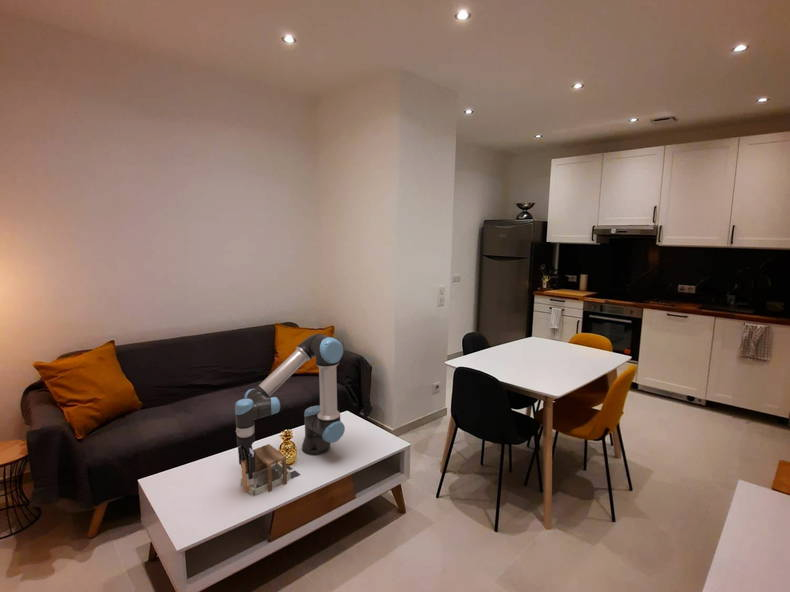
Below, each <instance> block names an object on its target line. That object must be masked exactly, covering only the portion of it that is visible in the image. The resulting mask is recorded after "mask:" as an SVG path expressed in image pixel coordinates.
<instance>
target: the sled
mask: <svg viewBox="0 0 790 592" xmlns="http://www.w3.org/2000/svg"><path fill="white" fill-rule="evenodd" d="M241 464H242V467H241V478H240V485H241V486H242V490H243V491H244V492H245V493H250V494H251V495H252V496H253V497H254V496H256V495H259V494H260V493H263V492H266V491H268V484H265V485H263V486H261V487H259V488H257V487H256V488H254V483H253V484H252V485H250V486H247V479H246V472H247V466H246V460H243V461H241ZM271 469H273V470H276V471H278V472H279V473H280V474H281V476H282V477H280V478H279V479H277V480H274V481H272V488H274V486H275V487H276V486H278V485H281V484H283V471H282V463H280V462H278V463H275V464H273V465H271ZM265 470H267V468H266V469H263V470H261V471H258V472H256V473H254V474H253V480H255V479H258V476H259V475H260V473H262V472H263V471H265ZM290 472H291V470H288V469H287V481H289V480H292V479H291V477H290Z"/></svg>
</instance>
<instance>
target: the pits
mask: <svg viewBox="0 0 790 592" xmlns="http://www.w3.org/2000/svg"><path fill="white" fill-rule="evenodd" d="M287 469H288V470H290V477H291V479H290V480H293V479H294V477H295V478H296V477H300V476H301V473H299V472H298V471H296V470H293V469H294V468H293V467H291V466H290V465H289V466H287Z"/></svg>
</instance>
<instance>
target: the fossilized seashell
mask: <svg viewBox="0 0 790 592" xmlns="http://www.w3.org/2000/svg"><path fill="white" fill-rule="evenodd" d="M281 476H282V474H281V473H280V472H278V471H277V470H273V469H272V481H274V480H277V479H279V478H281ZM265 484H268V476H267V470H265V471H263V472H262V473H260V475H259V476H258V477H257V479H256V484H255V485H256V489H257V488H259V487H261V486H263V485H265ZM274 487H276V486H274ZM274 487H273V488H274Z"/></svg>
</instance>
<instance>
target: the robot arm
mask: <svg viewBox="0 0 790 592" xmlns="http://www.w3.org/2000/svg"><path fill="white" fill-rule="evenodd" d="M343 354H344V347H343V345H342V343H341V341H339V340H338V339H336V338H334V337H331V336H328V335H325V334H322V333H314V334H311V335H309V336H308V337H306V338H305V339H304V340H302V341H301V342H300V343H299V344H298V345H297V346H296V347H295V350H294V352H292V354H290V355H289V356H288V357H287V358H286V359H284V361H283V362H281V364H280V365H278V367H277V368H275V370H273V371H272V372H271V374H269V375H268V376H267V377H266V378H265V379H264V380H263V381H262V382H260V384H259V385H258V386H256V387H255V388H251V389H248V390H247V391H246V392H245V394H244V398H242V399H238V400H237V401H236V402H235V407H234V409H235V410H234V414H235V427H236V428H235V429H236V430H235V433H236V446H237V450H238V463H239V464H238V465H239V466H240V467H241V468H242V464H241V461H243V460H246V466H247V472H246V479H247V486H250V485H252V484H253V485H254V479H253V472H255V455H256V452H253V451H252V450H253V444H254V442H256V441H255V440H256V439H255V437H256V436H255V435H256V434H255V420H258V419H261V418H264V417H268V416H273V415H275V414H278V413H279V412H280V410H281V401H280V400H279V399H278V397H277V396H272V395H273V393H275V392H276V391H277V390H278V389H279V388H280V387H281V386H282V385H283V384H284V383H285V382H286V381H287V380H288V379H290V377H291V376H292V375H293V374H294V373H296V371H298V369H300V368H301V367H302V365H304V364H305V363H306V362H307V361H308V362H309V361H311V360H312V359H313V358H314V357H315V365H316V367H318V372H319V373H318V376H319V379H318V380H319V405H313V406H309V407H308V408H306V409H305V410H304V414H303V417H304V437H303V442H302V444H301V449H302V451H301V452H303V453H304V454H306V455H309V456H317V455H323V454H325V453H327V452H328V451H329V450H330V449H331V444H333V443H336V442H338V441H339V440H341V438H342V437H343V436H344V433H345V429H346V427H345V425H344V423H343V422H342V421H341V412H340V411H339V410H338V390H337V389H338V388H337V386H338V383H337V366H339V365H340V361H341V359H342V357H343ZM271 396H272V397H271Z"/></svg>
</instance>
